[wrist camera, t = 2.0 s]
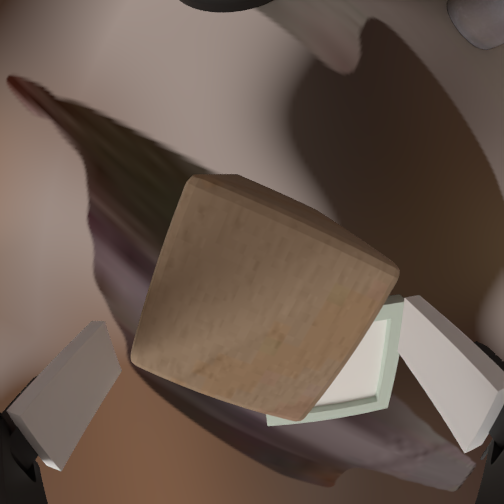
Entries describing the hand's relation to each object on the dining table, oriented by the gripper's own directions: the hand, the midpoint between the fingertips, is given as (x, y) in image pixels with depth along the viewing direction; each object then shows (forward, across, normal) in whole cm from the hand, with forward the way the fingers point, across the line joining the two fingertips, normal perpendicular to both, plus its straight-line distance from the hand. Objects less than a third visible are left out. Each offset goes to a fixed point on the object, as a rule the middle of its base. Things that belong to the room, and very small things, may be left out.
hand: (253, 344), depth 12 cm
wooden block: (+21, 0, 0) cm, 21 cm away
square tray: (+21, +8, -18) cm, 28 cm away
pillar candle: (+21, +35, +30) cm, 51 cm away
